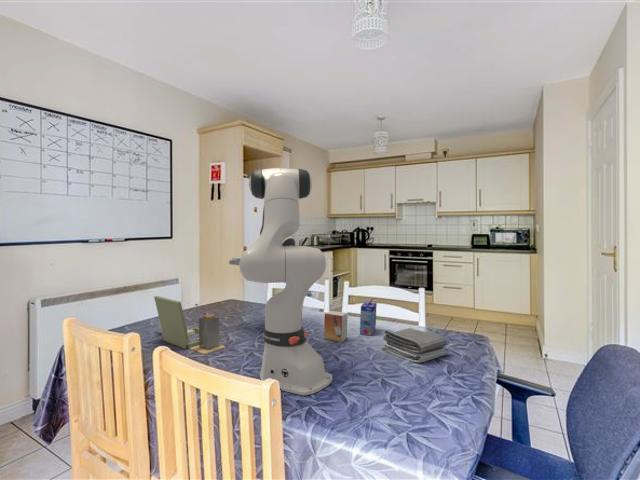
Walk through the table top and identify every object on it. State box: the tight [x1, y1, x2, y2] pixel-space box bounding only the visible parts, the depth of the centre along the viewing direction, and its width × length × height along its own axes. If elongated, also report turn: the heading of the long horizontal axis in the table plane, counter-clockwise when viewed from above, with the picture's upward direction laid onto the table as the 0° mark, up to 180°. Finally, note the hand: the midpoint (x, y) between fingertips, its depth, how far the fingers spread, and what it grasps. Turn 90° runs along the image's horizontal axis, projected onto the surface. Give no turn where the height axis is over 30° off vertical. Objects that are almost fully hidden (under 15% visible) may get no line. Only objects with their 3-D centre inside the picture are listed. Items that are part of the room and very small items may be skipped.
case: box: [153, 295, 221, 350], centre depth 133 cm, size 17×18×18 cm
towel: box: [380, 328, 448, 364], centre depth 121 cm, size 15×18×8 cm
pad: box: [189, 343, 226, 356], centre depth 124 cm, size 9×9×1 cm
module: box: [198, 314, 220, 350], centre depth 124 cm, size 5×5×12 cm
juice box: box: [359, 298, 378, 337], centre depth 145 cm, size 10×6×14 cm, turn 161°
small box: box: [323, 310, 349, 343], centre depth 136 cm, size 8×6×10 cm
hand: (237, 263), depth 138 cm, fingers open, 8 cm apart
